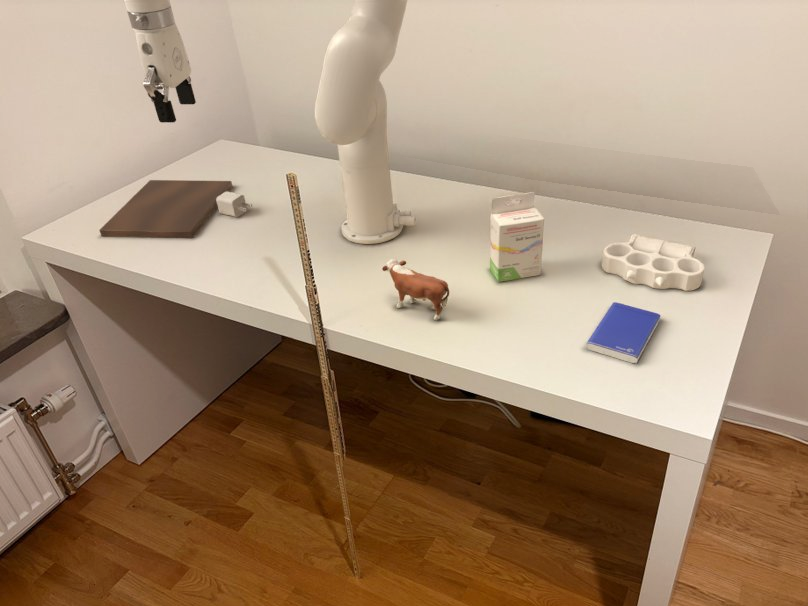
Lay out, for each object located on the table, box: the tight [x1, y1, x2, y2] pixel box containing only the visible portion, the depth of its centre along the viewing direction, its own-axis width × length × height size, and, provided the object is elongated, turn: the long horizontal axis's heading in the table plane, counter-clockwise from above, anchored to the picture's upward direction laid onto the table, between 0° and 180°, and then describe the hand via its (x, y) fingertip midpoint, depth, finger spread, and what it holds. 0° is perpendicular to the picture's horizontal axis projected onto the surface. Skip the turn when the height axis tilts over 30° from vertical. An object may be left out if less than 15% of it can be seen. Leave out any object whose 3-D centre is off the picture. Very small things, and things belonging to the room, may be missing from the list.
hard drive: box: [585, 301, 661, 364], centre depth 112 cm, size 2×8×12 cm
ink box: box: [489, 191, 545, 283], centre depth 124 cm, size 9×5×15 cm, turn 105°
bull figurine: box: [381, 258, 450, 321], centre depth 118 cm, size 4×13×8 cm, turn 55°
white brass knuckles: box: [601, 233, 705, 292], centre depth 126 cm, size 3×18×15 cm
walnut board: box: [98, 179, 234, 239], centre depth 153 cm, size 20×24×2 cm
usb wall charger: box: [216, 191, 253, 218], centre depth 150 cm, size 4×7×4 cm, turn 64°
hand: (178, 112), depth 136 cm, fingers open, 9 cm apart
